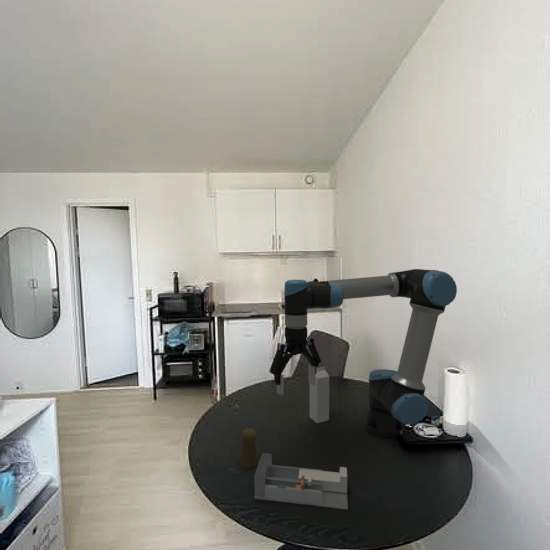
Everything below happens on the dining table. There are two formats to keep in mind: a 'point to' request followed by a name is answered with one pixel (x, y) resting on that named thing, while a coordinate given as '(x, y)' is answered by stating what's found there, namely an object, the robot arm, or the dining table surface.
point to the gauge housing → (292, 486)
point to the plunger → (327, 479)
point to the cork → (249, 449)
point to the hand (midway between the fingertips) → (296, 388)
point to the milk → (320, 396)
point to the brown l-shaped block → (301, 483)
